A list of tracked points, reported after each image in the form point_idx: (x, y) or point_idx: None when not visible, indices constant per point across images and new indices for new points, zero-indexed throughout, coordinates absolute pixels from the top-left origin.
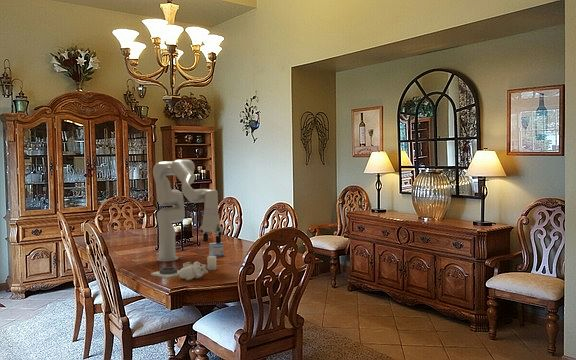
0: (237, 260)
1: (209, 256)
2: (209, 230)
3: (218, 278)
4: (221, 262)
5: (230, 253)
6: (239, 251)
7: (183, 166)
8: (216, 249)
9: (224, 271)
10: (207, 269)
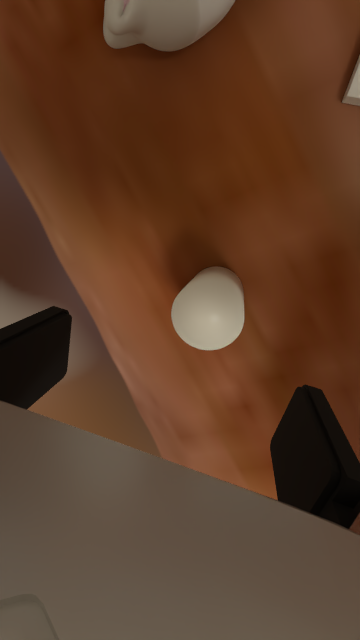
0: None
1: (230, 323)
2: (16, 469)
3: (56, 79)
4: (238, 445)
5: None
6: None
7: None
8: None
9: (120, 264)
10: (237, 276)
